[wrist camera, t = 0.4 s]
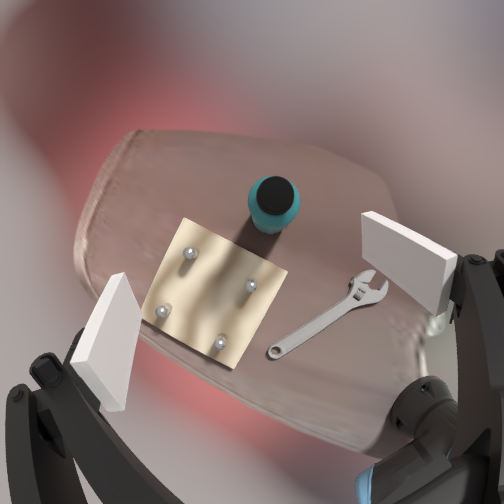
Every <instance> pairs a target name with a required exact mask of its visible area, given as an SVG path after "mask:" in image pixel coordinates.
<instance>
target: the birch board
mask: <svg viewBox="0 0 504 504" xmlns="http://www.w3.org/2000/svg"><path fill="white" fill-rule="evenodd" d="M187 247H195V248H197V249H198V250H199V256H198V257H197V258H192V259H186V258H185V257H184V256H183V250H184V249H185V248H187ZM287 273H288V272H287V271H286V270H284V269H282V268H280V267H278V266H276V265H274V264H272V263H270V262H269V261H267V260H265V259H263V258H261V257H259V256H257V255H255V254H253V253H251V252H249V251H248V250H246V249H244V248H242V247H240V246H238V245H236V244H234V243H232V242H230V241H228V240H227V239H225V238H223V237H221V236H219V235H217V234H215V233H213V232H211V231H209V230H208V229H206V228H204V227H202V226H200V225H198V224H196V223H194V222H192V221H190V220H188V219H187V218H183V220H182V222H181V224H180V226H179V228H178V230H177V232H176V234H175V236H174V238H173V240H172V242H171V244H170V246H169V248H168V250H167V253H166V255H165V257H164V259H163V261H162V263H161V265H160V267H159V270H158V272H157V274H156V276H155V278H154V281H153V283H152V285H151V287H150V290H149V292H148V294H147V296H146V299H145V301H144V303H143V306H142V308H141V313H142V315H143V316H142V319H144V320H146V321H147V322H149V323H150V324H152V325H154V326H155V327H157V328H159V329H160V330H162V331H164V332H165V333H167V334H169V335H171V336H172V337H174V338H176V339H178V340H179V341H181V342H183V343H185V344H186V345H188V346H190V347H192V348H194V349H196V350H197V351H199V352H201V353H203V354H205V355H207V356H209V357H211V358H213V359H215V360H217V361H219V362H221V363H223V364H225V365H227V366H229V367H231V368H233V369H234V368H235V366H236V365H237V363H238V361H239V360H240V358H241V356H242V354H243V353H244V351H245V349H246V347H247V346H248V344H249V342H250V340H251V339H252V337H253V335H254V333H255V332H256V330H257V328H258V326H259V324H260V323H261V321H262V319H263V317H264V315H265V314H266V312H267V310H268V308H269V306H270V305H271V303H272V301H273V299H274V297H275V295H276V294H277V292H278V290H279V288H280V286H281V284H282V282H283V280H284V279H285V277H286V275H287ZM249 278H254V279H255V280H256V281H257V288H256V290H255V291H254V292H248V291H247V290H246V289H245V284H246V282H247V280H248V279H249ZM165 303H170V304H171V305H172V308H173V309H172V311H171V312H170V313H169V314H167V315H166V316H164V317H163V318H159V317H157V316H156V314H155V310H156V309H157V308H158V307H160V306H162V305H163V304H165ZM220 333H224V334H226V335H227V338H228V339H227V342H226V344H225V347H224V349H223V350H221V351H219V350H216V349H215V348H214V342H215V340H216V338H217V336H218V335H219V334H220Z"/></svg>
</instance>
